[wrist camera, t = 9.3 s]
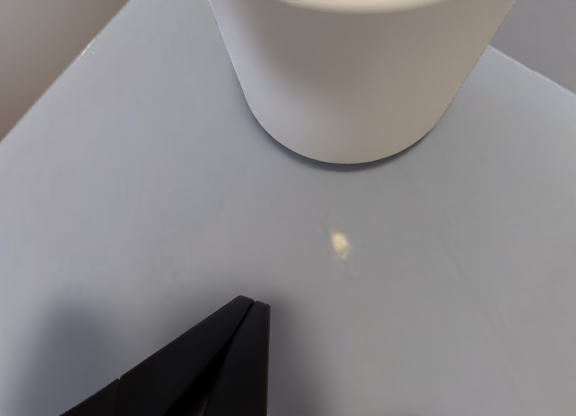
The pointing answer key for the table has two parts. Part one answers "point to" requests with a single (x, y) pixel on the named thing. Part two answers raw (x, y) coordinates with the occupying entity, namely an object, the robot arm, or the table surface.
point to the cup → (354, 68)
